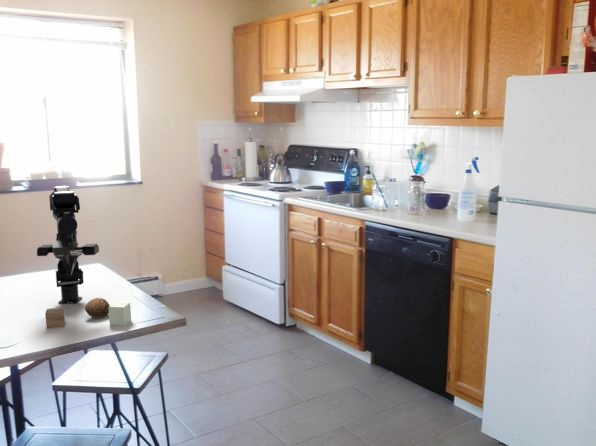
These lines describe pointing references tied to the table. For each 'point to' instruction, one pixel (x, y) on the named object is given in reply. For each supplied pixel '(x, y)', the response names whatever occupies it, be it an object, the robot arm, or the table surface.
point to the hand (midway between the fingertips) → (70, 274)
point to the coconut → (97, 308)
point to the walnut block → (55, 317)
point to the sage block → (119, 313)
